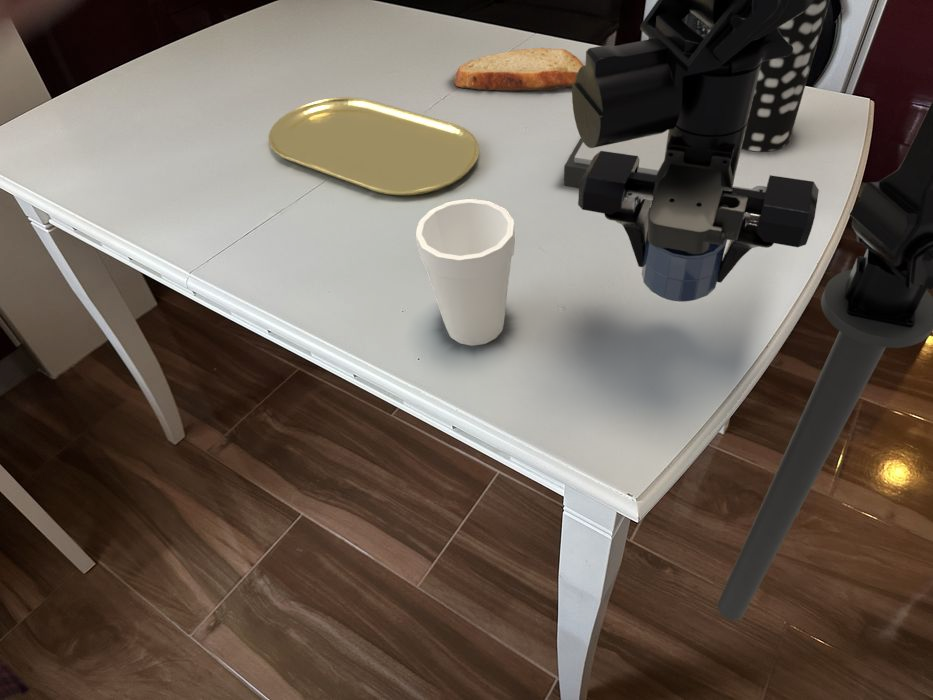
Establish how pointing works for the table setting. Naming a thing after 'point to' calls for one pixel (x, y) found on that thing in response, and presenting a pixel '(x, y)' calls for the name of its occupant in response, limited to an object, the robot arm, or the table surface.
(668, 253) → the small blue cup
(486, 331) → the foam cup
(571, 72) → the bread slice
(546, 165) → the table surface
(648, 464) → the table surface
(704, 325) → the table surface
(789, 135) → the white-spotted black cylinder
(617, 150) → the scale
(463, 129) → the serving platter
